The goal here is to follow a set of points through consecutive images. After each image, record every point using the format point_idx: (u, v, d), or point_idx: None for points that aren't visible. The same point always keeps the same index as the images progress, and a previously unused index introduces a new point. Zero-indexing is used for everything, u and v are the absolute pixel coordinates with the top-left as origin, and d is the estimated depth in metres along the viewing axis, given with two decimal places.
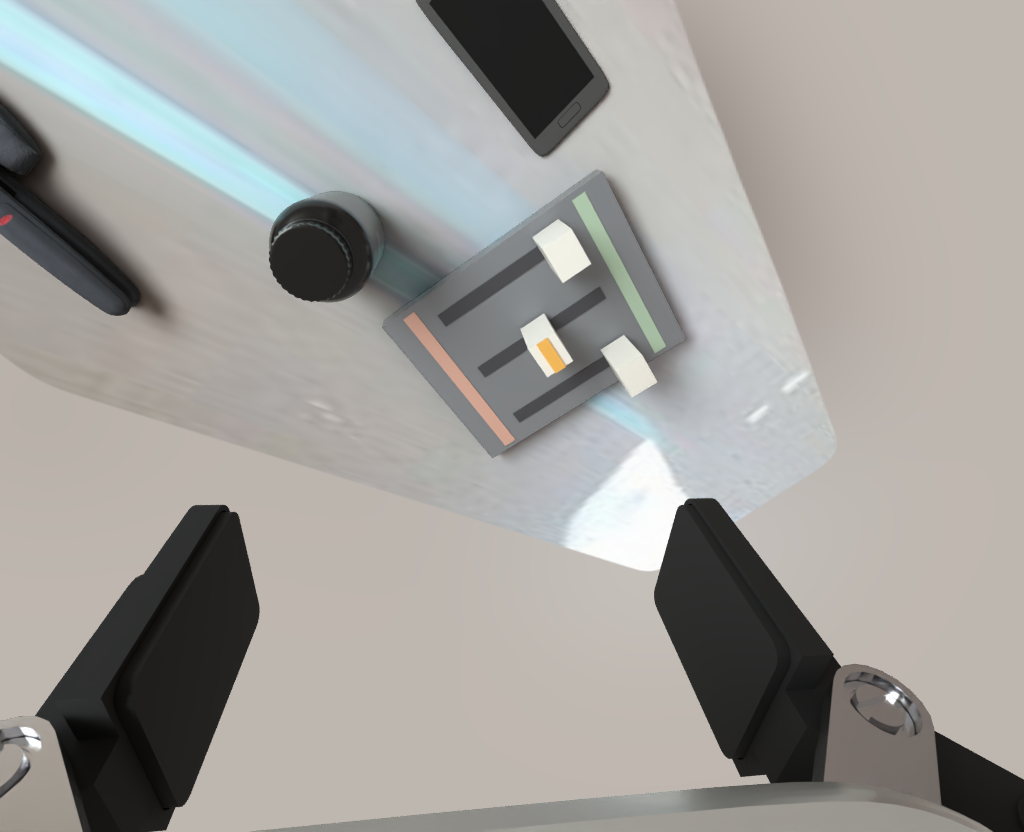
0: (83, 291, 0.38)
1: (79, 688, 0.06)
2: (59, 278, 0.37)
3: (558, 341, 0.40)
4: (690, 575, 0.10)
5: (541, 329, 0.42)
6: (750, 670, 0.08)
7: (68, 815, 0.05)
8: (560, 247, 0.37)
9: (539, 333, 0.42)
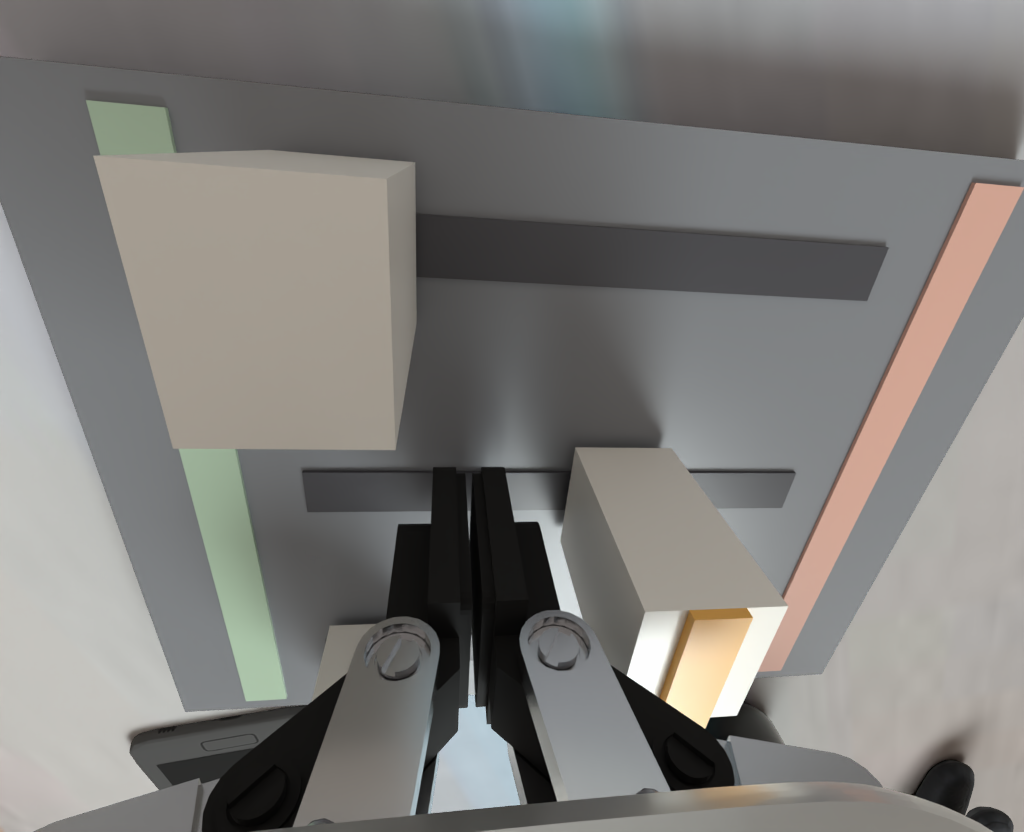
0: None
1: (439, 595, 0.08)
2: None
3: None
4: (473, 539, 0.11)
5: None
6: (480, 620, 0.09)
7: (418, 735, 0.06)
8: None
9: None
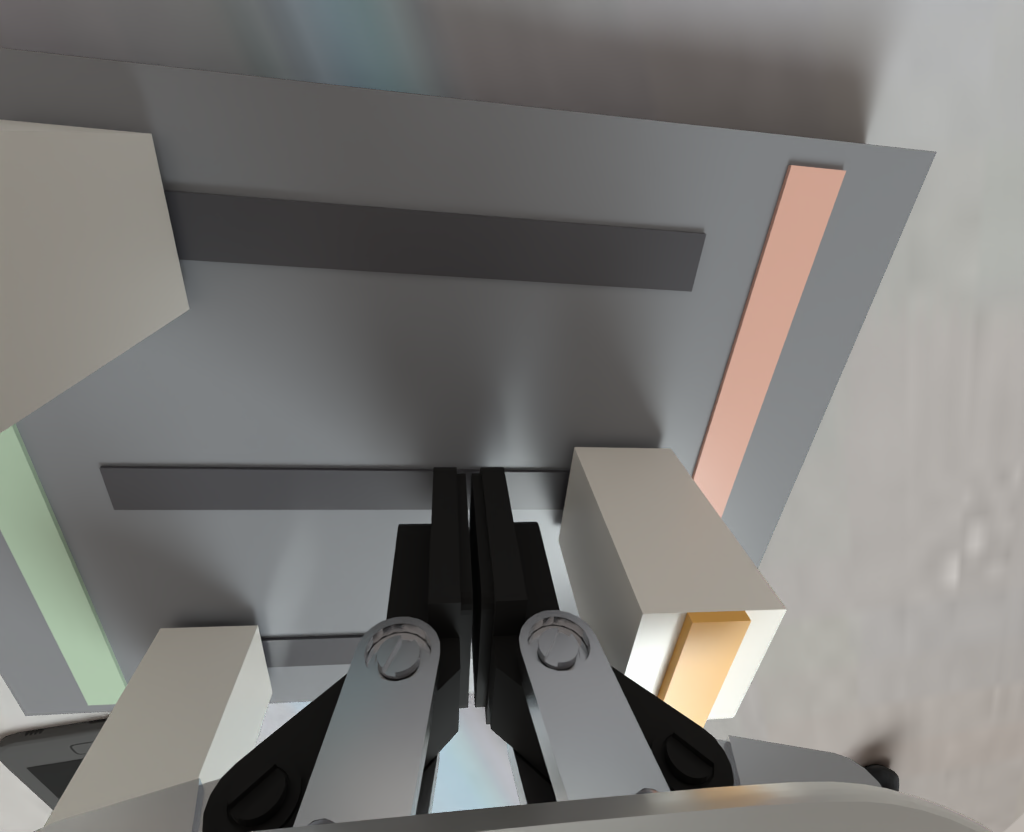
0: None
1: (440, 595, 0.08)
2: None
3: None
4: (472, 539, 0.11)
5: None
6: (479, 620, 0.09)
7: (419, 735, 0.06)
8: None
9: None
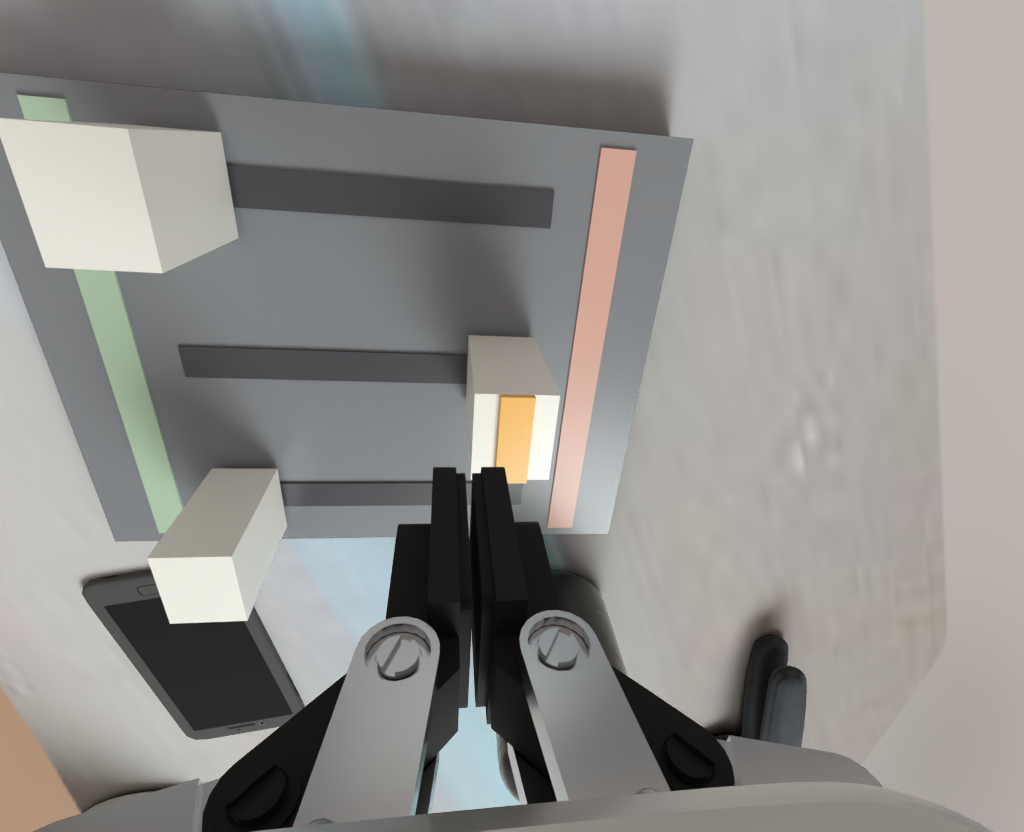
0: (798, 711, 0.31)
1: (440, 595, 0.08)
2: (802, 725, 0.32)
3: (476, 457, 0.15)
4: (473, 538, 0.11)
5: None
6: (480, 620, 0.09)
7: (419, 735, 0.06)
8: (207, 608, 0.17)
9: None
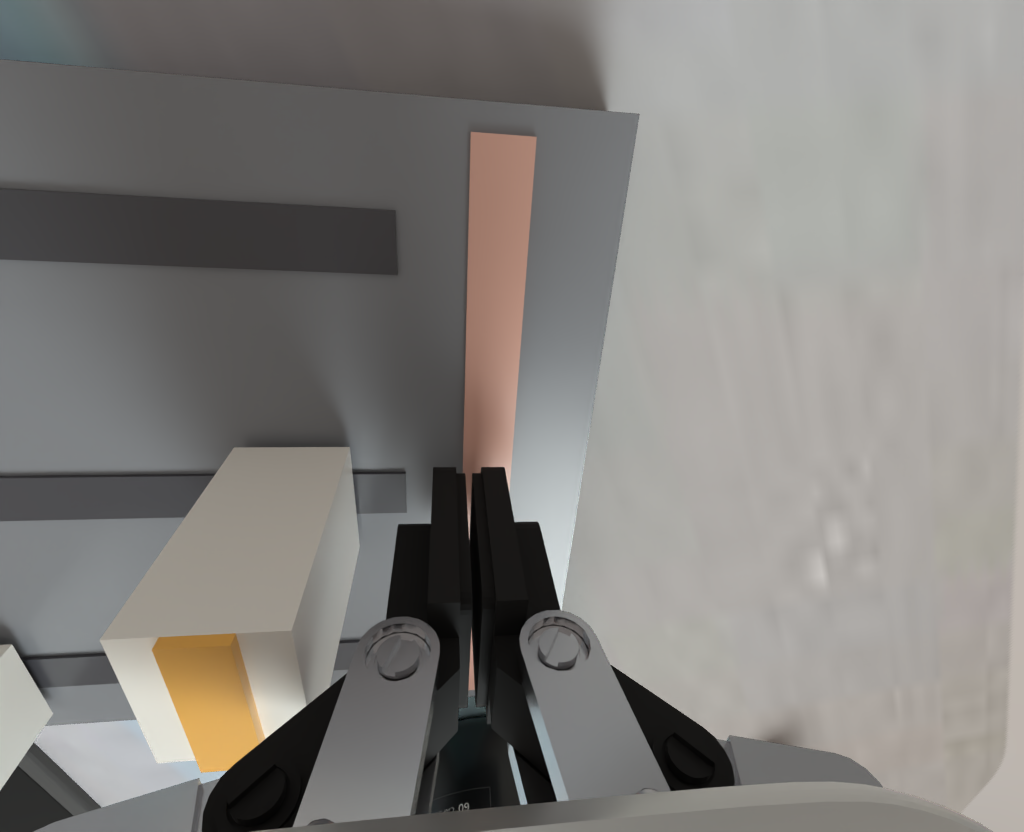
0: None
1: (440, 595, 0.08)
2: None
3: (152, 733, 0.08)
4: (473, 539, 0.11)
5: None
6: (480, 620, 0.09)
7: (419, 735, 0.06)
8: None
9: None
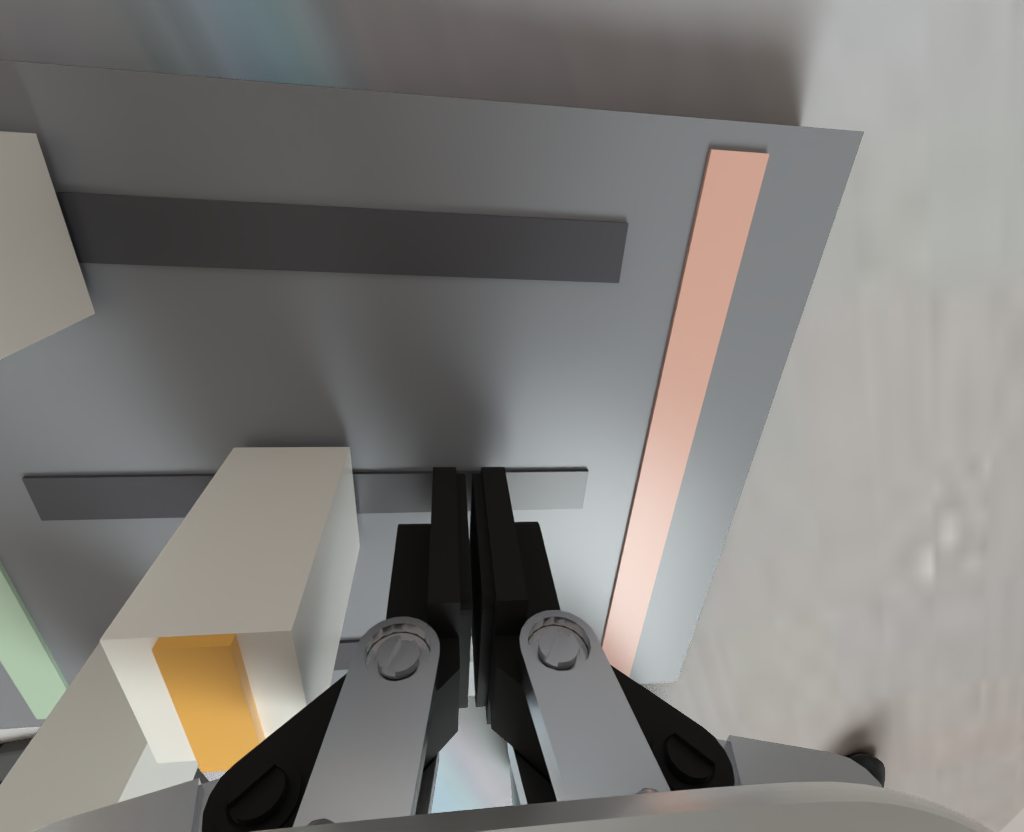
0: None
1: (440, 595, 0.08)
2: None
3: (152, 733, 0.08)
4: (473, 538, 0.11)
5: None
6: (480, 620, 0.09)
7: (418, 735, 0.06)
8: None
9: None
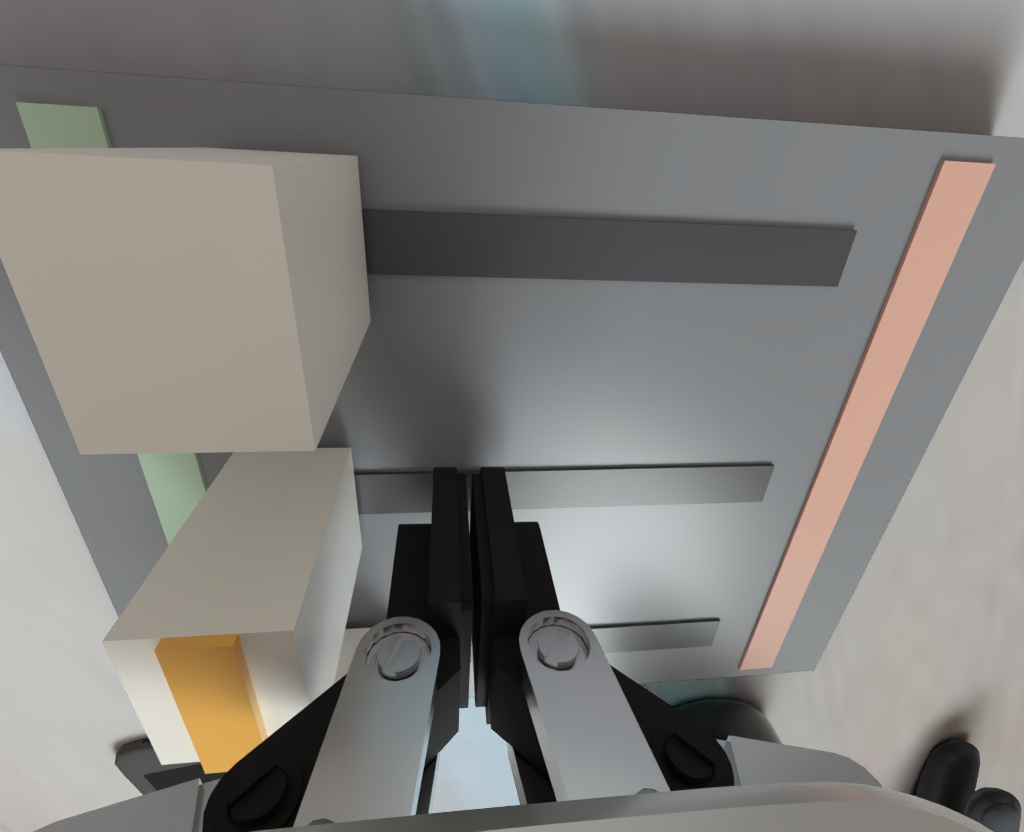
0: None
1: (440, 596, 0.08)
2: None
3: (156, 735, 0.08)
4: (473, 538, 0.11)
5: None
6: (479, 620, 0.09)
7: (419, 735, 0.06)
8: None
9: None
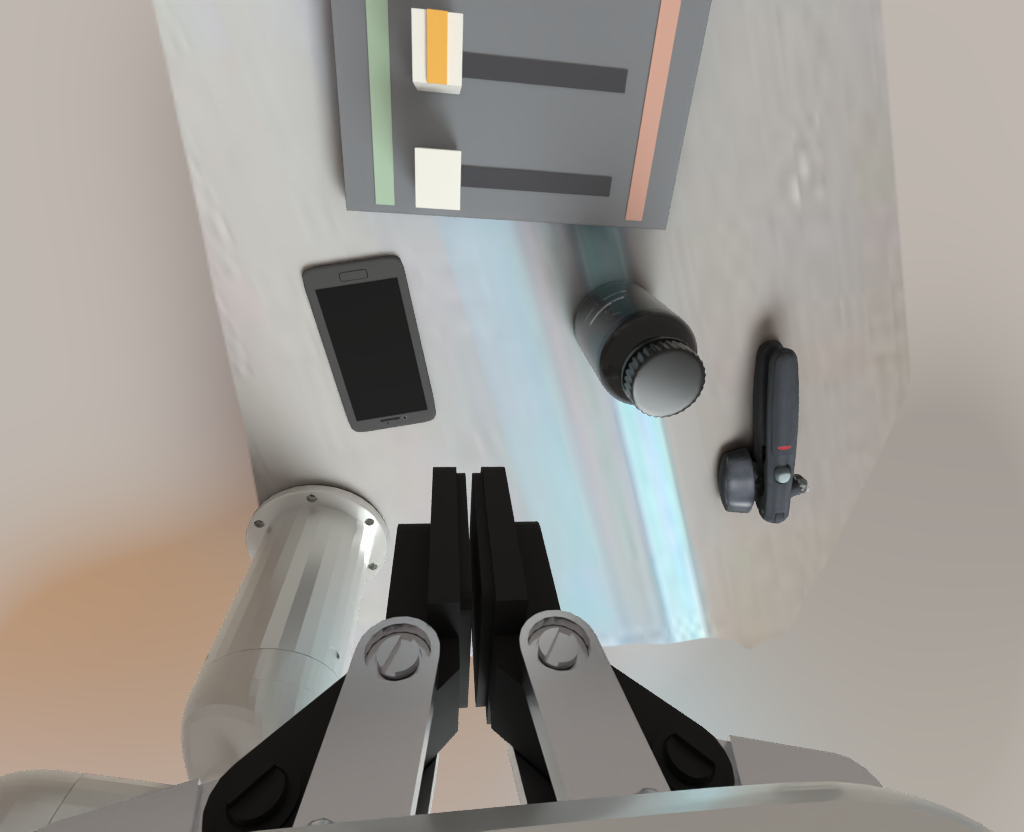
0: (792, 382, 0.41)
1: (440, 595, 0.08)
2: (797, 398, 0.42)
3: (415, 62, 0.26)
4: (473, 538, 0.11)
5: (430, 87, 0.28)
6: (480, 620, 0.09)
7: (419, 735, 0.06)
8: (439, 196, 0.29)
9: (435, 86, 0.27)
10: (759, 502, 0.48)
